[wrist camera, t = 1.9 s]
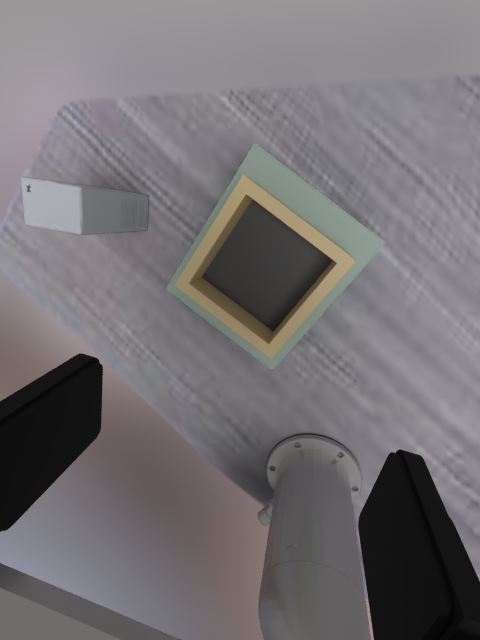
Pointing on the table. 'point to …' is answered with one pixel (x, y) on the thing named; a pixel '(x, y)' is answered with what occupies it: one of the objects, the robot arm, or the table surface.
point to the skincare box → (82, 208)
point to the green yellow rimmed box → (271, 258)
